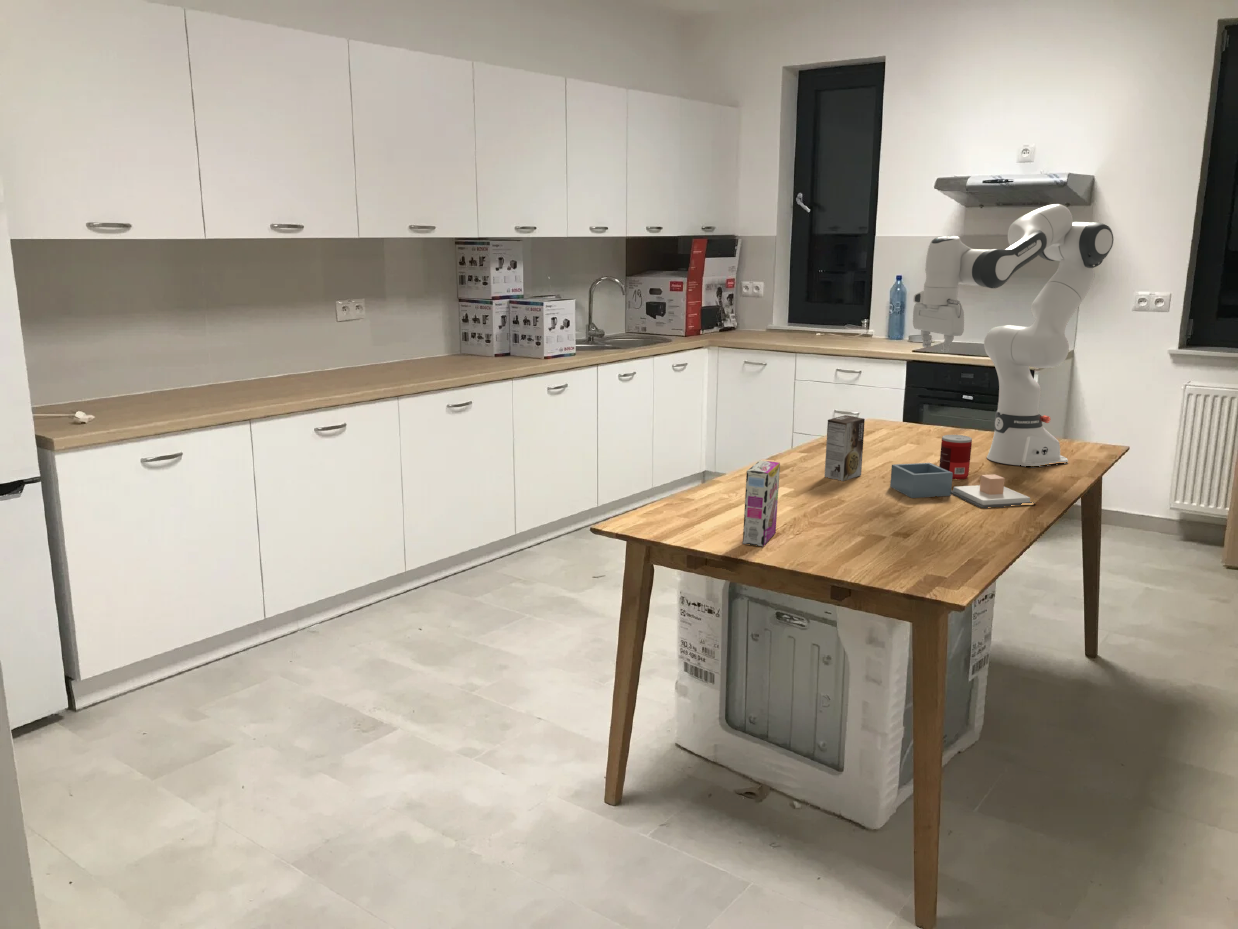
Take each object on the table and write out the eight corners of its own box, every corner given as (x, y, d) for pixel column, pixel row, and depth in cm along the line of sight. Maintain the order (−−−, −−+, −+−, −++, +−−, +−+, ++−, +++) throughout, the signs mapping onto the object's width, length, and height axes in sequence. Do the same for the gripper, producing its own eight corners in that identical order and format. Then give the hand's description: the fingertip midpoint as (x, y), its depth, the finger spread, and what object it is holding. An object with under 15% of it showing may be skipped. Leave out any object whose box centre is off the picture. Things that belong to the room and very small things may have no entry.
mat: (999, 489, 252) (999, 487, 251) (1035, 505, 237) (1036, 503, 237) (947, 492, 248) (947, 490, 248) (981, 508, 234) (981, 506, 234)
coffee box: (841, 471, 269) (845, 414, 265) (861, 475, 264) (866, 418, 260) (823, 477, 262) (826, 418, 259) (843, 481, 258) (847, 422, 254)
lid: (998, 488, 250) (1000, 469, 249) (1029, 502, 238) (1032, 482, 237) (953, 491, 248) (955, 471, 246) (982, 505, 235) (984, 484, 234)
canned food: (973, 476, 265) (977, 437, 262) (960, 481, 259) (964, 441, 256) (946, 471, 270) (950, 433, 267) (933, 476, 264) (937, 437, 261)
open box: (927, 484, 256) (929, 462, 254) (950, 495, 245) (952, 472, 244) (890, 486, 253) (891, 464, 252) (911, 498, 243) (913, 474, 241)
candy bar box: (764, 548, 204) (768, 473, 200) (742, 545, 206) (745, 470, 202) (777, 533, 214) (781, 461, 210) (755, 530, 216) (758, 459, 212)
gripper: (972, 300, 250) (967, 353, 254) (930, 295, 270) (926, 344, 273) (950, 300, 249) (946, 354, 252) (910, 295, 268) (906, 345, 272)
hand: (935, 349), depth 263 cm, fingers open, 8 cm apart
